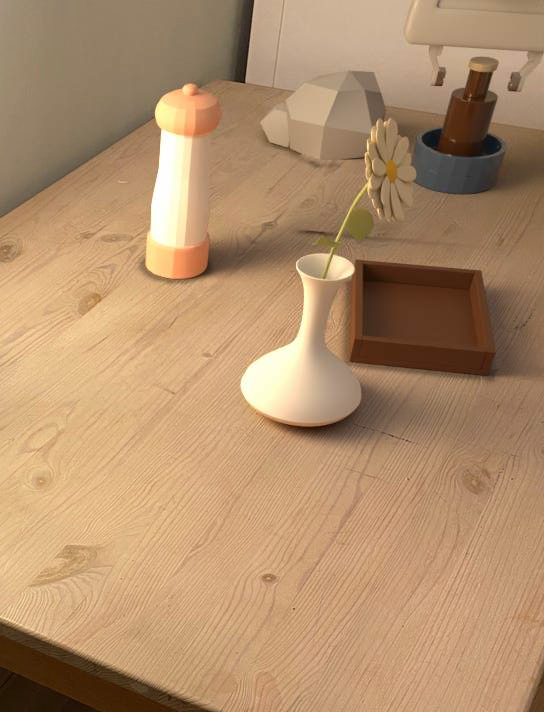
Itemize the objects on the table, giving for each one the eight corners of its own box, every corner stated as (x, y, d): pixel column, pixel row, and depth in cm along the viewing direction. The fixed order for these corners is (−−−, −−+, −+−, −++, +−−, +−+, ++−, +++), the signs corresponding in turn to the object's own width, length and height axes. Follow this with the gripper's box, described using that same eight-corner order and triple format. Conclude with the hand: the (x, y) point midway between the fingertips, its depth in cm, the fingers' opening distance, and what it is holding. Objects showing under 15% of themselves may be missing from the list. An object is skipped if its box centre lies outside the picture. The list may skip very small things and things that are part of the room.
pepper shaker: (163, 284, 108) (176, 101, 94) (134, 257, 113) (143, 79, 99) (218, 271, 110) (239, 90, 96) (188, 246, 115) (203, 69, 101)
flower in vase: (292, 452, 86) (351, 166, 68) (214, 394, 93) (249, 118, 74) (395, 408, 91) (476, 129, 72) (314, 355, 97) (370, 88, 79)
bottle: (471, 170, 128) (506, 54, 118) (475, 186, 124) (510, 69, 114) (429, 167, 129) (459, 52, 119) (431, 183, 125) (462, 66, 115)
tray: (474, 292, 106) (481, 270, 104) (487, 375, 95) (496, 352, 93) (350, 281, 108) (355, 259, 106) (349, 361, 97) (354, 338, 95)
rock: (238, 141, 137) (247, 66, 130) (322, 107, 146) (334, 36, 139) (342, 177, 128) (357, 99, 121) (424, 138, 137) (443, 64, 130)
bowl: (490, 168, 130) (502, 129, 126) (497, 201, 122) (510, 161, 119) (406, 162, 131) (415, 123, 128) (408, 195, 124) (418, 155, 120)
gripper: (421, -44, 108) (390, 90, 118) (610, -35, 105) (562, 102, 115) (419, -57, 112) (389, 73, 122) (601, -48, 109) (555, 84, 119)
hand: (474, 87), depth 119 cm, fingers open, 8 cm apart
